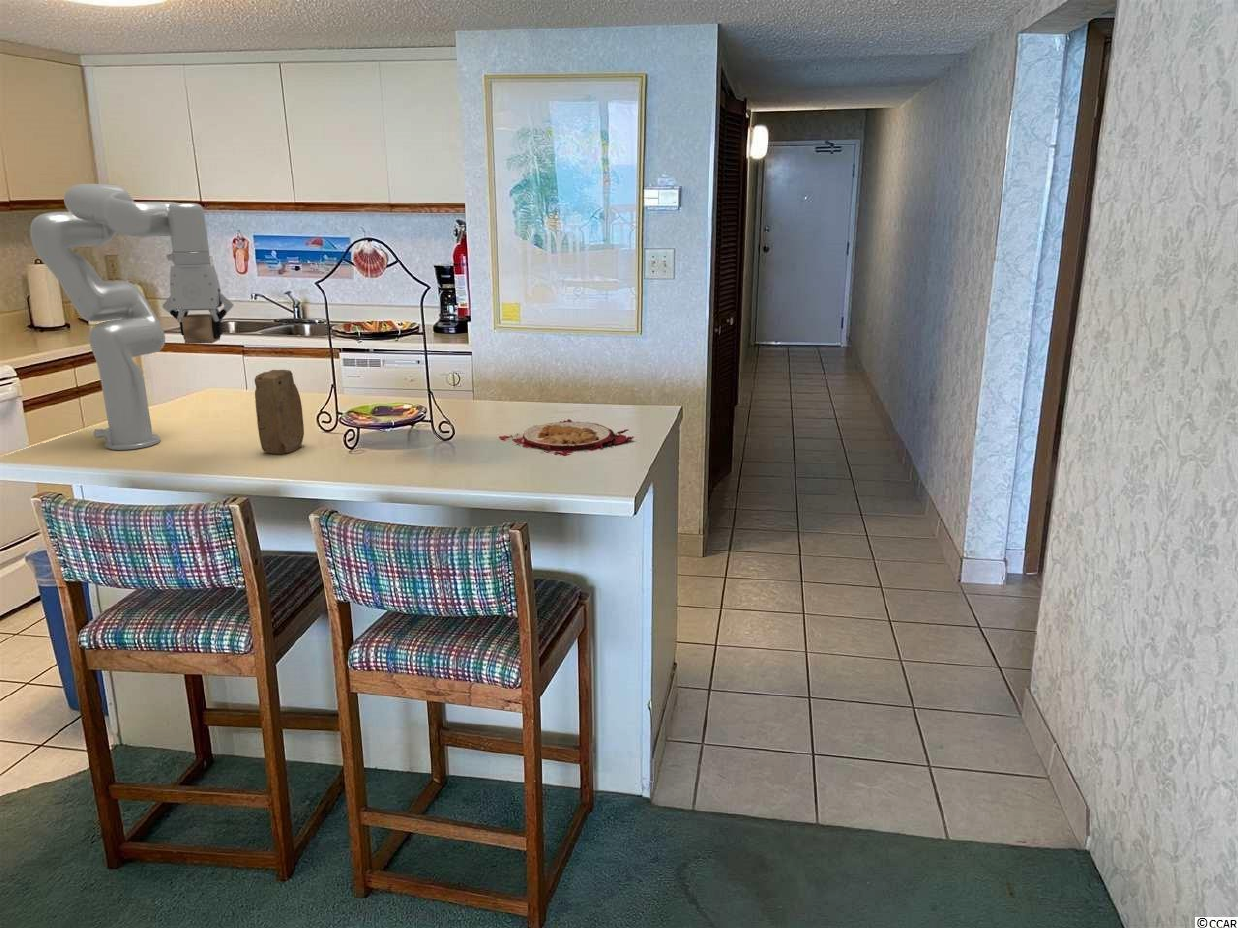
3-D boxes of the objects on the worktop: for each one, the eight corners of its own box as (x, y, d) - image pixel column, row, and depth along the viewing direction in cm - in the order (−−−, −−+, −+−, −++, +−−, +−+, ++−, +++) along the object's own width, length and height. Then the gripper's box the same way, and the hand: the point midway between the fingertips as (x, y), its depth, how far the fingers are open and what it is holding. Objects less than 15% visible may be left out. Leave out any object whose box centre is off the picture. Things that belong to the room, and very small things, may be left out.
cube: (184, 343, 204) (181, 317, 203) (193, 339, 210) (190, 314, 208) (212, 343, 205) (208, 317, 203) (220, 339, 211) (217, 314, 209)
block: (283, 456, 217) (274, 376, 211) (257, 454, 219) (248, 374, 213) (310, 445, 227) (302, 368, 221) (285, 443, 229) (276, 366, 223)
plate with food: (569, 426, 250) (569, 413, 249) (634, 441, 231) (634, 428, 230) (497, 443, 234) (496, 429, 233) (561, 461, 215) (560, 447, 214)
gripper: (145, 260, 198) (157, 341, 203) (226, 260, 199) (236, 340, 205) (158, 258, 205) (169, 336, 210) (236, 258, 207) (245, 335, 212)
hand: (202, 337), depth 207 cm, fingers closed on cube, 6 cm apart
